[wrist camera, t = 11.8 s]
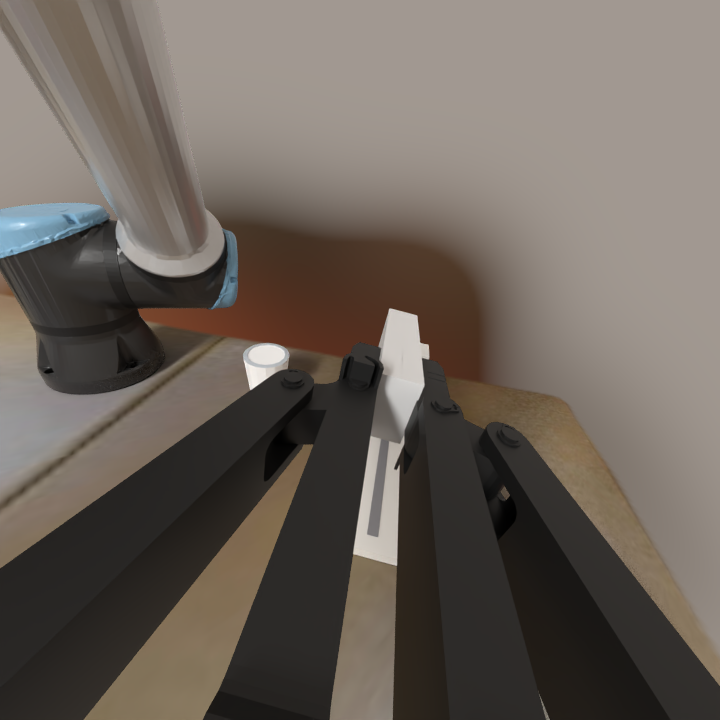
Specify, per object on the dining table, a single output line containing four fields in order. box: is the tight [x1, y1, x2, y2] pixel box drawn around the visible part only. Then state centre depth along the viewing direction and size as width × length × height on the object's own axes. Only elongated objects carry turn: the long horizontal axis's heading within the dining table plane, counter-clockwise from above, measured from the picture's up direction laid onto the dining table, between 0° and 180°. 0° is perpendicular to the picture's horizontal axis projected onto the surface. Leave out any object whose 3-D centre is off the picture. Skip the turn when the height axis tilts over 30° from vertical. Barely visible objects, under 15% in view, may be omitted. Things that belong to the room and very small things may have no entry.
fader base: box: [353, 436, 404, 566], centre depth 39 cm, size 26×10×2 cm, turn 170°
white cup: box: [243, 343, 289, 390], centre depth 45 cm, size 7×7×7 cm
